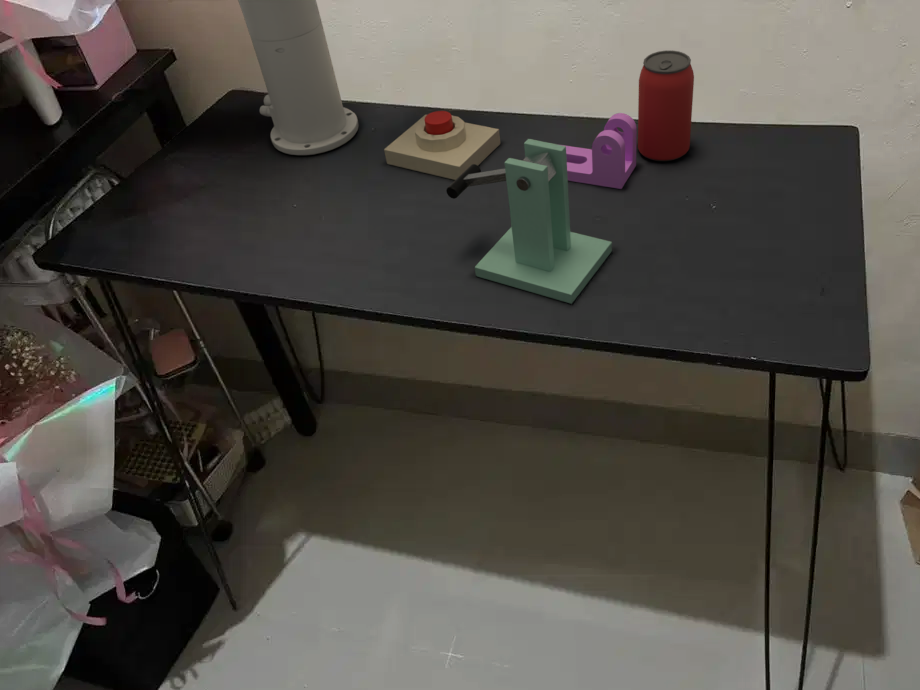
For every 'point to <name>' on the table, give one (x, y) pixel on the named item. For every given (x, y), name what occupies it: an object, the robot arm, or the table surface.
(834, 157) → the table surface
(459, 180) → the lever
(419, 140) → the control block
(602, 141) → the bracket
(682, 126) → the beer can
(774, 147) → the table surface
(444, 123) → the button
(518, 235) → the bracket
